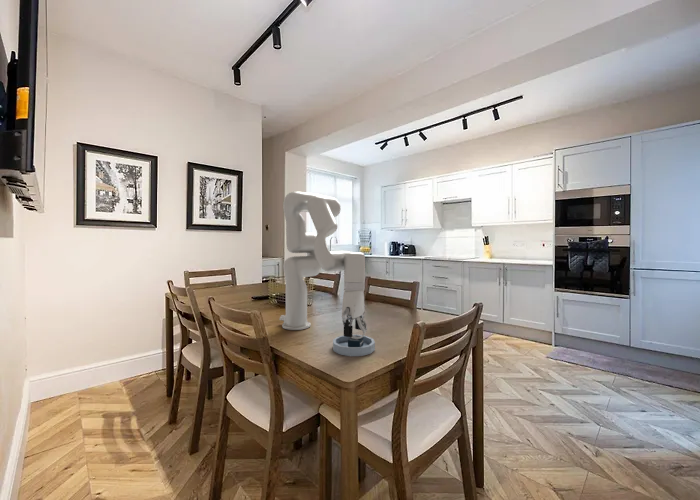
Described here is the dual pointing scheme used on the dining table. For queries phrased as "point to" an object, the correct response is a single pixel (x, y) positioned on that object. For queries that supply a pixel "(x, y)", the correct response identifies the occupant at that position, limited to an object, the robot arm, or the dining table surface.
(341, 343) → the dish
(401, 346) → the dining table surface
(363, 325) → the watch
